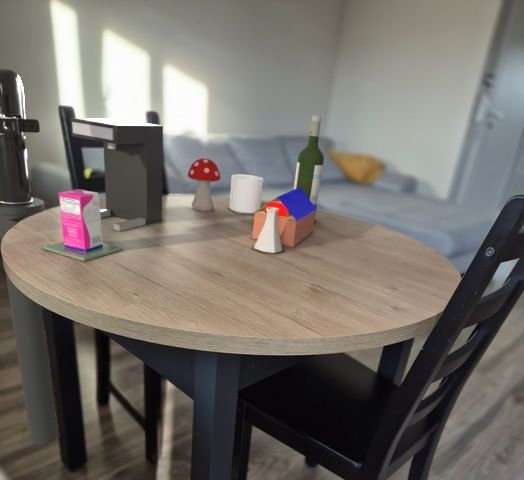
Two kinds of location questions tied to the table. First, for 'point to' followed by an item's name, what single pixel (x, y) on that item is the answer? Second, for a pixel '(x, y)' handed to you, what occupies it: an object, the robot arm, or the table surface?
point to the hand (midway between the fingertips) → (29, 123)
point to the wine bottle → (310, 164)
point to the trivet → (82, 255)
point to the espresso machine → (128, 167)
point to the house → (288, 217)
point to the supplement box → (81, 220)
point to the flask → (269, 233)
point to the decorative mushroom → (203, 182)
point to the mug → (245, 193)
